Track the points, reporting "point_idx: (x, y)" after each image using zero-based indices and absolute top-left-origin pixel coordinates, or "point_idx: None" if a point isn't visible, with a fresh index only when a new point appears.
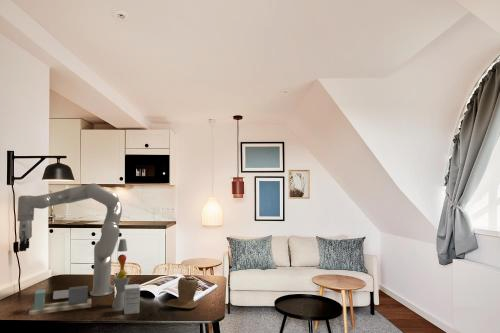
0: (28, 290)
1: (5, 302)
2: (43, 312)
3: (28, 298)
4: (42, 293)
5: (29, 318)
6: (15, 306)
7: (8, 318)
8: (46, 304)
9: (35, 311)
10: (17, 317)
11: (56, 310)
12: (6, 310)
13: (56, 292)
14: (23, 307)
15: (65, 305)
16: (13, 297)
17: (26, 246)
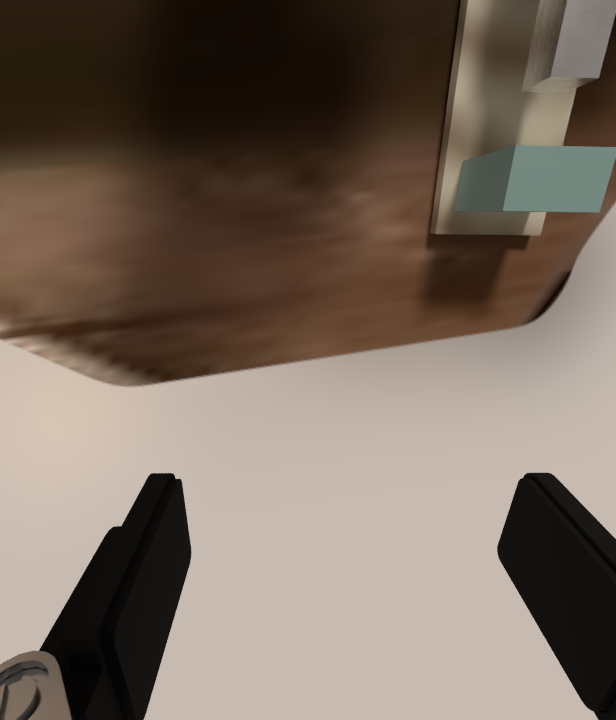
0: (28, 291)
1: (249, 365)
2: None
3: (214, 270)
4: (612, 159)
5: (584, 224)
6: (343, 312)
7: (519, 313)
8: (455, 150)
9: None
10: (531, 279)
11: None
12: (390, 340)
13: (604, 52)
14: (380, 274)
15: None
16: (165, 345)
17: (175, 534)
